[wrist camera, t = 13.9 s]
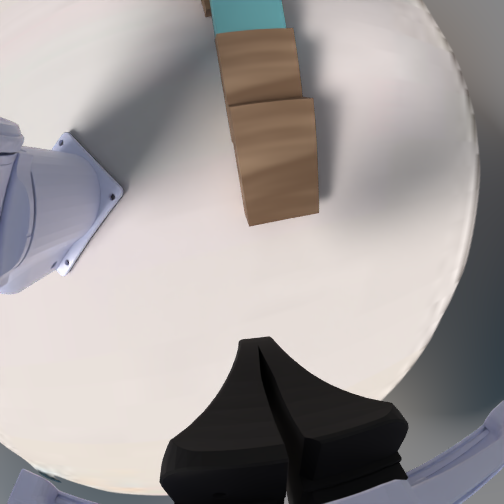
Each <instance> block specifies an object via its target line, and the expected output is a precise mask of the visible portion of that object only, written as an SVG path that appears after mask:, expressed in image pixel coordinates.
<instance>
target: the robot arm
mask: <svg viewBox="0 0 504 504" xmlns="http://www.w3.org/2000/svg"><path fill="white" fill-rule="evenodd" d="M62 141H64V142H63V145H62V146H61V143H62ZM23 142H24V136H23V135H22V134H21V131H20V128H19V125H18V124H16V123H14V122H12V121H10V120H7V119H4V118H2V117H0V293H1V294H16V293H19V292H21V291H22V290H24V289H26V288H27V287H29V286H30V285H32V284H33V283H35V282H37V281H38V280H40V279H41V278H43V277H45V276H46V275H48V274H50V273H51V272H53V271H55V270H56V271H57V272H58V273H59V274H60V275H61V276H66V275H67V274H68V273H69V271H70V269H71V268H72V266H73V265H74V263H75V261H76V260H77V258H78V257H79V255H80V254H81V252H82V251H83V249H84V247H85V246H86V244H87V243H88V242H89V240H90V239H91V237H92V236H93V234H94V233H95V231H96V230H97V229H98V227H99V226H100V224H101V223H102V222H103V220H104V219H105V218H106V216H107V215H108V214H109V212H110V211H111V210H112V208H113V207H114V206H115V204H116V203H117V202H118V200H119V199H120V198H121V197H122V195H123V188H122V187H121V186H120V185H119V184H118V183H117V182H116V181H115V180H114V179H113V178H112V177H111V176H110V175H109V174H108V173H107V172H106V171H105V170H104V169H103V168H102V166H101V165H100V164H99V163H98V162H97V161H96V160H95V159H94V158H93V157H92V156H91V155H90V154H89V153H88V152H87V151H86V150H85V149H84V148H83V147H82V146H81V145H80V144H79V142H78V141H77V140H76V139H75V138H74V137H73V136H72V135H71V134H70V133H68V132H65V133H63V134H62V135H61V137H60V138H59V140H58V141H57V143H56V144H55V145H54V147H53V148H52V150H47V149H40V148H34V147H27V146H22V144H23ZM112 194H114V195H115V199H114V200H112V199H111V195H112ZM67 260H69V263H70V264H68V263H67ZM407 431H408V423H407V421H406V420H405V418H404V417H403V416H402V414H401V413H400V412H399V410H398V409H397V408H396V407H395V406H394V405H393V404H392V403H390V402H384V401H379V400H374V399H369V398H365V397H362V396H359V395H355V394H352V393H349V392H347V391H344V390H342V389H339V388H337V387H335V386H333V385H330V384H328V383H327V382H325V381H323V380H321V379H319V378H318V377H316V376H314V375H313V374H311V373H310V372H308V371H307V370H306V369H304V368H303V367H302V366H300V365H299V364H298V363H297V362H296V361H294V360H293V359H292V358H291V357H290V356H289V355H288V354H287V353H286V352H284V351H283V349H282V348H281V347H280V346H279V345H278V344H277V343H276V342H275V341H274V340H273V339H272V338H271V337H270V336H269V337H261V338H252V339H242V340H240V341H239V346H238V351H237V355H236V358H235V361H234V363H233V366H232V369H231V371H230V373H229V375H228V377H227V379H226V381H225V383H224V384H223V386H222V388H221V389H220V391H219V392H218V394H217V395H216V397H215V398H214V399H213V401H212V402H211V403H210V405H209V406H208V407H207V408H206V409H205V411H204V412H203V413H202V414H201V415H200V416H199V417H198V418H197V419H196V420H195V421H194V422H193V423H192V424H191V425H189V426H188V427H187V428H186V429H185V430H183V431H182V432H181V433H179V434H178V435H177V436H175V437H174V438H173V439H171V440H170V442H169V444H168V446H167V449H166V451H165V454H164V457H163V461H162V465H161V473H160V484H161V486H162V487H163V489H164V490H165V491H166V492H167V494H168V495H169V496H170V497H171V499H172V500H173V501H174V504H284V498H285V497H286V491H287V496H288V501H289V504H461V503H463V502H464V501H465V500H466V499H468V498H469V497H470V496H472V495H473V494H474V493H475V492H476V491H478V490H479V489H480V488H481V487H482V486H484V485H485V484H486V483H487V482H488V481H489V480H490V479H491V478H492V477H494V476H495V475H496V474H497V473H498V472H499V471H500V470H501V469H502V468H503V467H504V400H503V401H502V402H501V403H500V404H499V405H498V406H496V407H495V408H494V409H493V410H492V411H491V413H490V414H489V415H488V417H487V418H486V420H485V422H484V424H483V425H482V426H480V427H479V428H478V429H476V430H475V431H474V432H472V433H471V434H470V435H468V436H467V437H466V438H464V439H463V440H461V441H460V442H458V443H457V444H455V445H454V446H452V447H451V448H449V449H448V450H446V451H444V452H443V453H441V454H439V455H438V456H436V457H434V458H433V459H431V460H429V461H427V462H426V463H424V464H422V465H420V466H418V467H416V468H414V469H412V470H411V471H408V472H406V473H405V471H404V470H403V468H402V467H401V465H400V463H399V462H400V461H401V456H400V455H399V453H398V449H399V447H400V446H401V444H402V442H403V440H404V438H405V436H406V433H407ZM7 504H99V503H95V502H92V501H88V500H85V499H82V498H79V497H76V496H73V495H70V494H67V493H64V492H62V491H59V490H58V489H57V488H56V487H55V486H54V485H53V484H52V483H51V482H49V481H48V480H46V479H45V478H43V477H41V476H39V475H36V474H34V473H32V472H30V471H28V470H26V469H22V470H21V472H20V474H19V476H18V479H17V481H16V483H15V485H14V488H13V490H12V492H11V495H10V497H9V500H8V502H7Z"/></svg>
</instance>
